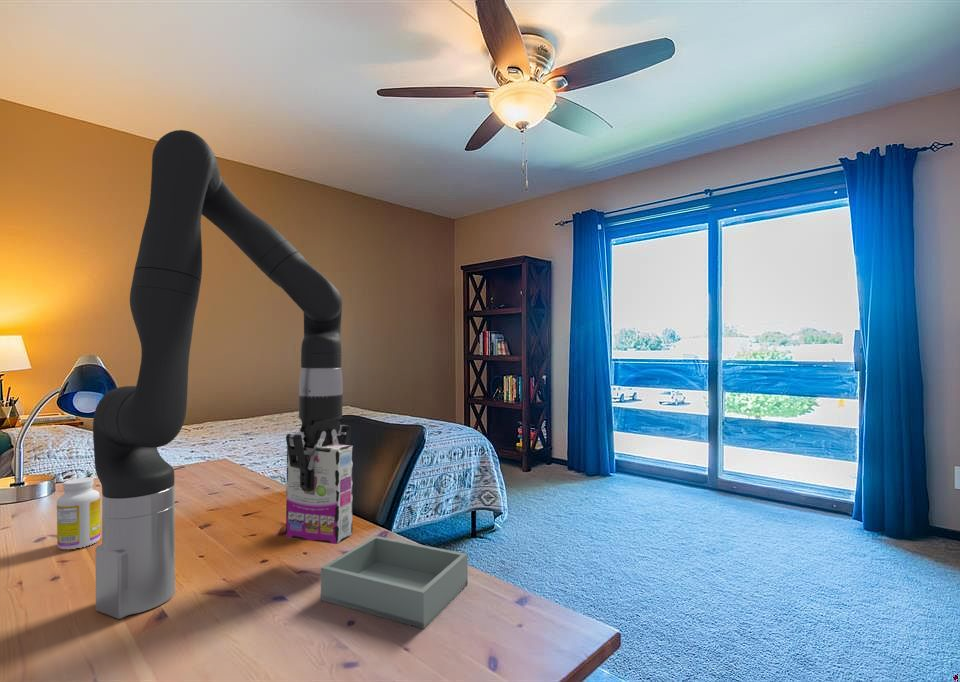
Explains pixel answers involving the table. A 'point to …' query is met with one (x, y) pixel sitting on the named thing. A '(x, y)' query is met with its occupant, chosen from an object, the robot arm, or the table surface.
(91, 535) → the supplement bottle
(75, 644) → the table surface
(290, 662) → the table surface
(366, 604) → the bin
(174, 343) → the robot arm
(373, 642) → the table surface
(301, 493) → the candy bar box
